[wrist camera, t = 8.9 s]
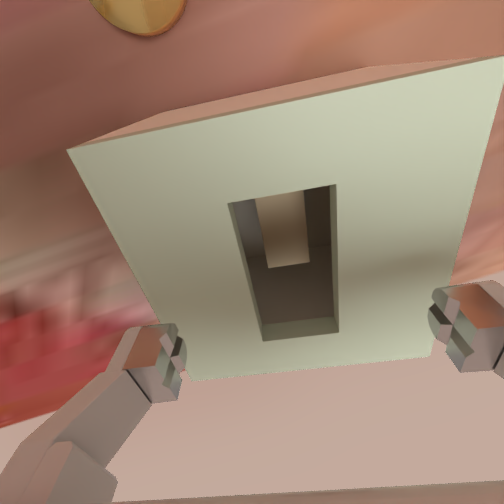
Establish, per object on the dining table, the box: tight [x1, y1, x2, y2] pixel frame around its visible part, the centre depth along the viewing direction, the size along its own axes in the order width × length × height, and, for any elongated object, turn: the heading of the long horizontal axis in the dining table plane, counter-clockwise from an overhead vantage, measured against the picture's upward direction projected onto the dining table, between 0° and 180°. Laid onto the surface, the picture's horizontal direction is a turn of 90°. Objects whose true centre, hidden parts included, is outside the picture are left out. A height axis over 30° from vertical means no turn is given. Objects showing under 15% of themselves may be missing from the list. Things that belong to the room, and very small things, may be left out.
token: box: [255, 190, 310, 268], centre depth 16 cm, size 5×2×5 cm, turn 11°
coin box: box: [66, 55, 504, 381], centre depth 15 cm, size 12×12×10 cm
